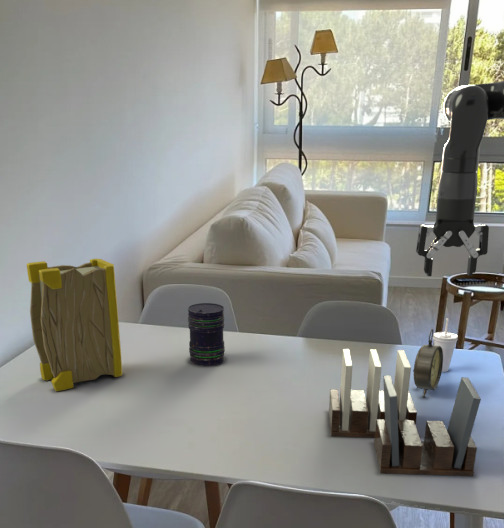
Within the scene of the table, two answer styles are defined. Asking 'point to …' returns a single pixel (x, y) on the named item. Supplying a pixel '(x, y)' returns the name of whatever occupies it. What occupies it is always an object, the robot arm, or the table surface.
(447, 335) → the smoothie
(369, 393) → the ivory book
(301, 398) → the table surface
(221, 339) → the black barrel
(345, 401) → the ivory book
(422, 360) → the alarm clock
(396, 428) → the grey book
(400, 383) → the ivory book
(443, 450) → the book stands
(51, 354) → the decorative book
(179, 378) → the table surface
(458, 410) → the grey book
